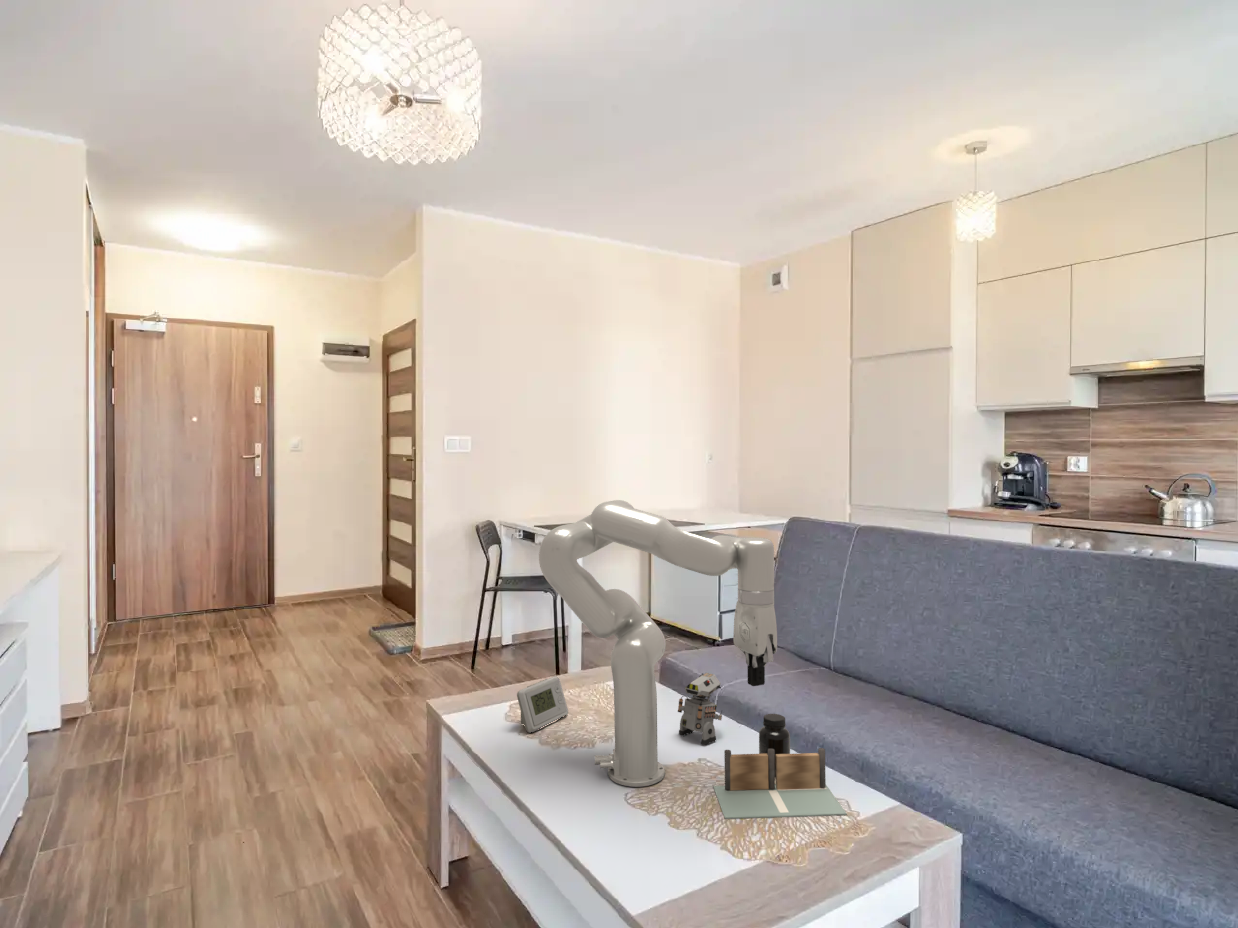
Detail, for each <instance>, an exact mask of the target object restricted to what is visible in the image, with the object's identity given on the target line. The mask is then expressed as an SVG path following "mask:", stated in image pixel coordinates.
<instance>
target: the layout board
mask: <svg viewBox="0 0 1238 928" xmlns="http://www.w3.org/2000/svg"><path fill="white" fill-rule="evenodd" d="M713 790H714V793H715V795H716V798H718V799H717V801H718V804H719V806H720V810H721V812H722V814H723V817H724V819H725V820H730V819H731V820H732V819H737V820H738V819H762V818H764V819H765V818H767V819H768V818H792V817H793V818H794V817H795V818H796V817H824V816H829V817H830V816H831V817H832V816H847V814H848V813H847V812H846V810H845V809H844V808H843V806H842V805H841V803H840V802H839V801H838V799H837V797H835V795H834V794H833V792H832V791H831V789H830V788H829V787H828V785H827V784H826V788H824V789H822V788H818V789H785V790H777V788H776V783H775V789H769V788H768V789H758V790H730V791H728V790H725V785H713Z"/></svg>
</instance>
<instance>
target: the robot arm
mask: <svg viewBox="0 0 1238 928" xmlns="http://www.w3.org/2000/svg"><path fill="white" fill-rule="evenodd" d="M612 543H615V544H619V545H623V546H626V547H629V548H633V549H635V550H638V551H642V552H645V553H648V554H651V555H653V556H655V557H656V558H659V559H661V560H663V561H665V562H668V563H670V564H671V565H674V566H676V567H679V568H682V569H685V570H687V571H688V570H689V571H691V572H695V573H698V574H702V575H705V576H709V577H718V576H722V575H725V574H726V573H727V572H728V571H729V570H732V569H737V601H736V605H735V610H734V620H733V640H732V641H733V645H734V646H735V647H736V648H737V649H739V650H740V651H741V652H742V653H744V655H745V663H746V665H747V684H748V685H750V686H751V687H757V686H764V685H765V683H766V679H765V676H766V675H765V674H766V673H765V671H766V670H765V669H766V666H767V663H773V662H774V655H775V654H776V652H777V651H778V629H777V627H778V625H777V617H776V609H775V547H774V543H773V541H772V540H770V539H768V538H765V537H764V538H763V537H747V538H746V537H745V538H744V537H743V538H742V537H738V536H737V537H736V536H730V535H722V534H720V535H716V536H713V537H711V538H709V537H705V536H700V535H699V534H695V533H692V532H688V531H685V530H683V529H681V528H678V527H676V526H675V525H673V523H671V522H670V521H669V520H668V519H667V518H666V517H664V516H663V515H658V514H655V513H652V512H647V511H644V510H641V509H637V508H634V506H633V505H632V504H631V503H629V502H628V501H625V500H621V499H615V500H608V501H604V502H602V503H600V504H598V505H597V506H595V507H594V509H593V511H592V512H591V514H590V515H586V516H585V517H584V518H581V519H579V520H577V521H575V522H572V523H567V524H563V525H559V526H557V527H555V528H552V529H551V530H550V531H548V532H547V534H546V535H545V536H544V537H543V539H542V541H541V544H540V546H539V551H538V552H539V553H538V563H539V568H540V570H541V573H542V575H543V577H544V578H545V580H546V581H547V583H548V584H549V585H550V587H552V588H553V590H554V591H555V592H556V593H557V594H558V595H559V596H560V597H561V598H562V600H563V601H564V602H565V603H566V604H567V606H568V607H569V608H570V610H571V611H572V612H573V614H575V616H576V617H577V618H578V619H579V620H580V622H581V623H582V624H583V625H584V626H585V627H586V629H587V630H588V631H589V632H590V633H591V634H592V635H593V636H595V637H597V638H600V639H607V638H610V637H612V636H615V637H616V638H617V641H616V642H615V643H614V644H613V647H612V649H611V653H610V667H611V674H612V681H613V682H612V683H613V684H612V685H613V705H614V706H613V707H614V711H613V712H614V719H613V720H614V749H613V750H612V753H608V755H602V754H601V755H594V765H595V766H596V765H599V766H600V767H599V769H607V775H608V777H609V779H610V780H611V781H613V782H614V783H616V784H619V785H620V786H621V785H622V786H626V787H634V788H635V787H636V788H639V787H640V788H641V787H648V786H652V785H655V784H657V783H659V782H660V781H662V780H663V779H664V777H665V775H666V773H665V772H666V771H665V767H664V765H663V764H662V763H661V762H659V760H658V695H657V693H658V692H657V691H658V690H657V684H656V677H655V665H656V664H657V663H658V662H659V661H660V660H661V658H663V655H664V654H665V651H666V648H667V647H666V646H667V644H666V643H667V642H666V638H665V635H664V633H663V631H662V630H661V629H660V627H659V625H658V624H656V623H655V621H654V620H653V619H652V618H651V617H650V616H649V614H648V613H647V612H646V611H645V609H643V608H642V607H641V605H640V604H639V603H638V602H637V601H636V600H635V599H634V598H633V597H632V596H631V595H630V594H629V593H627V592H625V591H624V590H622V589H618V588H611V589H607V590H606V589H605V588H604V587H603V586H602V585H600V583H599V582H598V581H597V580H596V579H595V577H594V576H593V575H592V574H591V573H590V572H589V571H588V570H587V569H586V568H584V567H582V566H581V565H580V563H579V562H578V560H579V559H582V558H584V557H587V556H590V555H591V554H593V553H595V552H597V551H599V550H601V549H602V548H604V547H607V546H608V545H610V544H612Z"/></svg>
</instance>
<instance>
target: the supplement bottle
mask: <svg viewBox="0 0 1238 928" xmlns="http://www.w3.org/2000/svg"><path fill="white" fill-rule="evenodd" d="M762 725H763V726H762V727H761V728H760V730H759V732H758V754H767V755H768V749H774V750H775V777H776V754H791V735H790V731H789V730H788V729H787V728H786V726H787V725H786V717H785V716H784V715H782V714H779V713H768V714H764V716H763V722H762Z"/></svg>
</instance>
